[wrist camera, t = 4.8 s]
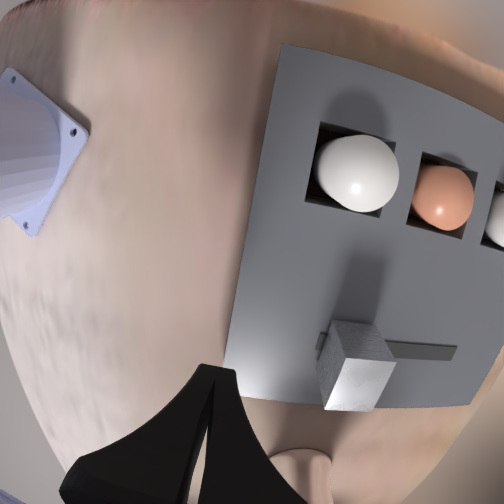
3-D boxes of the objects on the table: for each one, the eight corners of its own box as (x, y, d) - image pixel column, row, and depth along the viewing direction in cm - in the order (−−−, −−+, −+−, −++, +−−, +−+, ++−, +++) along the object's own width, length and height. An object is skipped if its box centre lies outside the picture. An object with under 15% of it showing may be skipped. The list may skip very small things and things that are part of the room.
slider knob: (315, 367, 16) (324, 409, 13) (332, 319, 15) (346, 357, 12) (357, 371, 16) (371, 411, 13) (375, 325, 15) (396, 362, 12)
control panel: (224, 361, 20) (218, 393, 17) (278, 61, 15) (281, 42, 12) (453, 381, 20) (469, 405, 18) (530, 155, 15) (560, 159, 12)
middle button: (391, 209, 17) (417, 222, 13) (402, 156, 16) (432, 159, 12) (434, 220, 17) (465, 236, 13) (446, 171, 16) (479, 177, 13)
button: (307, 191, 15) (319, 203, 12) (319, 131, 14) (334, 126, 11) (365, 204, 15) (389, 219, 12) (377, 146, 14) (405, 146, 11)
